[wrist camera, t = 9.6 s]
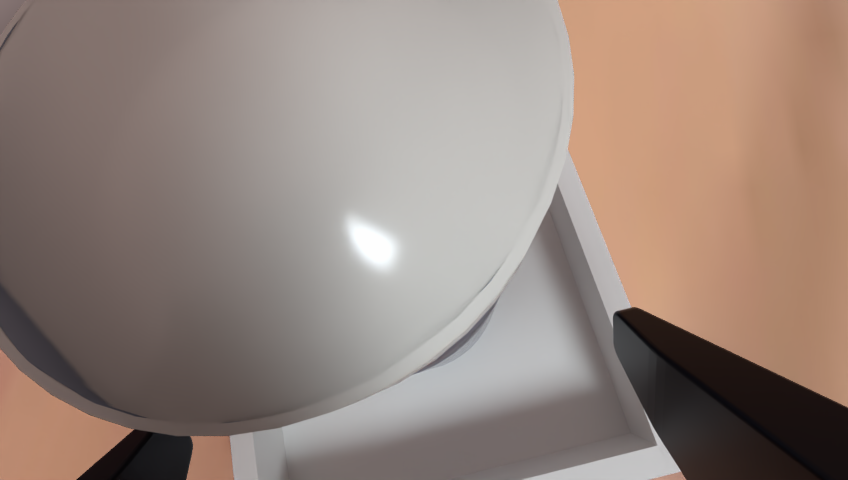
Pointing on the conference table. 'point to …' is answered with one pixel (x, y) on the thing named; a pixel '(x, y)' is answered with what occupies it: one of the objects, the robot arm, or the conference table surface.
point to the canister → (266, 196)
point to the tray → (498, 387)
